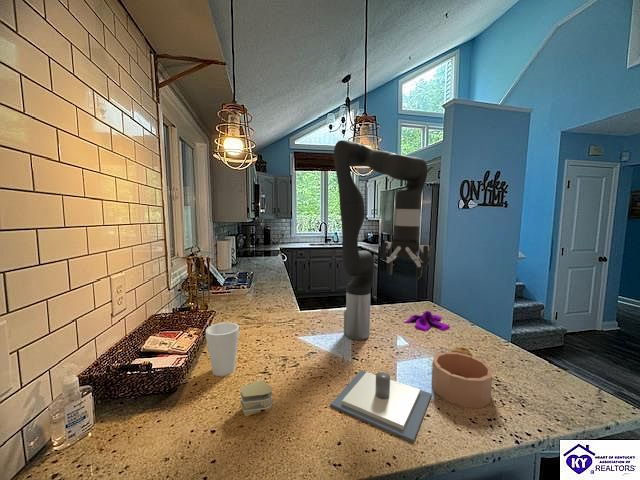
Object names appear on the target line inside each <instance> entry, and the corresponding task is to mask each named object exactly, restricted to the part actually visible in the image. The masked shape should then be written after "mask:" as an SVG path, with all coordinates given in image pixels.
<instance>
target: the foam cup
mask: <svg viewBox="0 0 640 480" xmlns="http://www.w3.org/2000/svg"><path fill="white" fill-rule="evenodd" d="M205 329H206V330H205V340H206V344H207V349H208V353H209V354H208V355H209V360H210V366H211V371H212V374H213V375H214V376H217V377H224V376H225V377H226V376H229V375H230V374H232V373H233V372H234V371H235V367H236V361H237V353H238V352H237V351H238V346H239V345H238V342H239V336H240V325H239V324H237V323H235V322H220V323H219V322H218V323H215V324H212V325H209V326H208V327H206V328H205Z"/></svg>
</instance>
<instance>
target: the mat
mask: <svg viewBox="0 0 640 480" xmlns="http://www.w3.org/2000/svg"><path fill="white" fill-rule="evenodd" d="M366 372H367V371H365V370H363V369H362V370H360V371H359V372H358V373H357V374H356V375H355V376H354V378H352V379H351V381H350V382H349V383H348V384H347V385H346V386H345V387H344V388H343V389H342V391H341V392H340V393H339V394H338V395H337V396H336V397H335V398H334V399H333V401H331V403H330V405H329V406H330V407H331V408H334V409H336V410H338V411H340V412H343V413H345V414H347V415H349V416H352V417H353V418H357V419H359V420H361V421H363V422H366V423H368V424H370V425H372V426H375V427H377V428H379V429H382V430H384V431H386V432H388V433H390V434H393V435H395V436H397V437H399V438H402V439H404V440H407V441H409V442H412V443H414V442H415V440H416V437H417V435H418V432H419V429H420V427H421V424H422V422H423V419H424V417H425V413H426V410H427V409H428V405H429V403H430V401H431V398H432V393H431V392H428V391H425V390H422V389H420V395H419V397H418V399H417V401H416V403H415V406H414V408H413V410H412V412H411V414H410V417H409V419H408V421H407V423H406V425H405V428H404V430H402V429H400V428H397V427H395V426H392V425H390V424H388V423H385V422H383V421H381V420H378V419H376V418H373V417H371V416H369V415H366V414H364V413H362V412H359V411H357V410H355V409H352V408H350V407H347V406H345V405H343V404H342V400H343V399H344V398H345V397H346V395H347V394H348V393H349V392H350V391H351V390H352V388H353V387H354V386H355V385H356V384H357V383H358V381H359V380H360V379H361V378H362V377H363V376H364V374H365V373H366Z"/></svg>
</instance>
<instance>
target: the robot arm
mask: <svg viewBox="0 0 640 480" xmlns="http://www.w3.org/2000/svg"><path fill="white" fill-rule="evenodd" d="M333 162H334V168H335V172H336V179H337V183H338V184H337V185H338V193H339V194H338V195H339V196H338V197H339V211H340V221H341V235H342V236H341V237H342V239H341V240H342V241H341V242H342V245H341V246H342V248H341V249H342V252H341V253H342V254H341V255H342V256H341V260H342V263H341V264H342V268H343V270H344V273H345V274H346V275H348V276H349V277H353V278H352V280H351V281H349V282H348V283H347V284H346V287H345V288H346V292H345V293H346V295H345V297H346V298H345V299H346V301H345V302H346V304H345V305H346V306H345V310H344V311H343V336H345V337H347V338H349V339H352V340H357V341H358V340H359V341H360V340H361V341H362V340H366V339H368V338H370V326H371V324H370V323H371V322H370V321H371V292H372V291H371V290H372V286H373V284H374V276H375V275H374V272H375V262H374V261H375V260H374V256H373V255H372V253H371V252H370V251H368V250H364V249H362V250H359V246H358V245H359V244H358V242H359V241H358V240H359V234H360V231H361V228H362V226H363V224H364V222H365V217H366V210H365V201H364V196H363V194H362V192H361V190H360V189H359V187H358V186H357V184H356V183H355V181H354V178H353V177H352V173H351V168H352V167H368V168H369V169H370V170H373V171H374V172H377V173H379V174H383V175H386V176H389V177H391V178H392V179H395V180H399V181H404V182H406V184H405V187H404V188H402V189H399V190H397V192H396V195H395V210H394V215H393V230H392V231H393V233H392V242H389V241H388V240H386V241H383V242H382V245H381V255H380V260H381V261H383V262H385V263H386V273H387V275H388V276H390V275H393V270H394V269H393V268H394V263H393V261H395V259H396V258H397V257H398V258H406V259H410V258H411V260H412V261H413V262H414V263H415V265H416V267H415V280H419V279H421V277H422V276H423V267H427V266H428V265H430V261H431V260H430V251H431V249H430V245H429V244H425V245H421V244H420V227H421V226H420V225H421V213H420V212H421V210H420V209H421V195H422V193H423V190H424V187H425V184H426V180H427V177H428V170H429V169H428V165H427V162H426V161H425V160H424V158H422V157H416V156H409V155H404V154H398V153H394V152H390V151H385V150H378V149H377V150H376V149H371V148H369V147H368V146H366V145H364V144H361V143H359V142H357V141H351V140H338V141H336V143H335V145H334V149H333ZM350 167H351V168H350ZM391 248H392V250H393V252H392V253H391V254H390V255H389V256H388V254H389V250H390V249H391ZM419 250H420V251H421V253H423V257H422V259H421V258H420V256H419V254H418V253H417V252H418V251H419Z"/></svg>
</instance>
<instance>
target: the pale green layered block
mask: <svg viewBox="0 0 640 480" xmlns="http://www.w3.org/2000/svg"><path fill="white" fill-rule="evenodd" d="M239 389H240V393H239V395H240V397H241V399H240V400H239V402H240V405H241V409H242V413H243V414H244V417H248V416H251V415H254V414H255V415H256V414H258V413H261V410H267V409H270V408H271V406H272V404H273V403H274V402H273V400H272V396H273V395H274V393H273V392H272V390H273V389H274V388H273V387H272V386H271V385H270V384H268V383H267V382H266V381H264V380H257V381H254V382H252V383H249V384H246V385H243V386H240V387H239Z"/></svg>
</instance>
